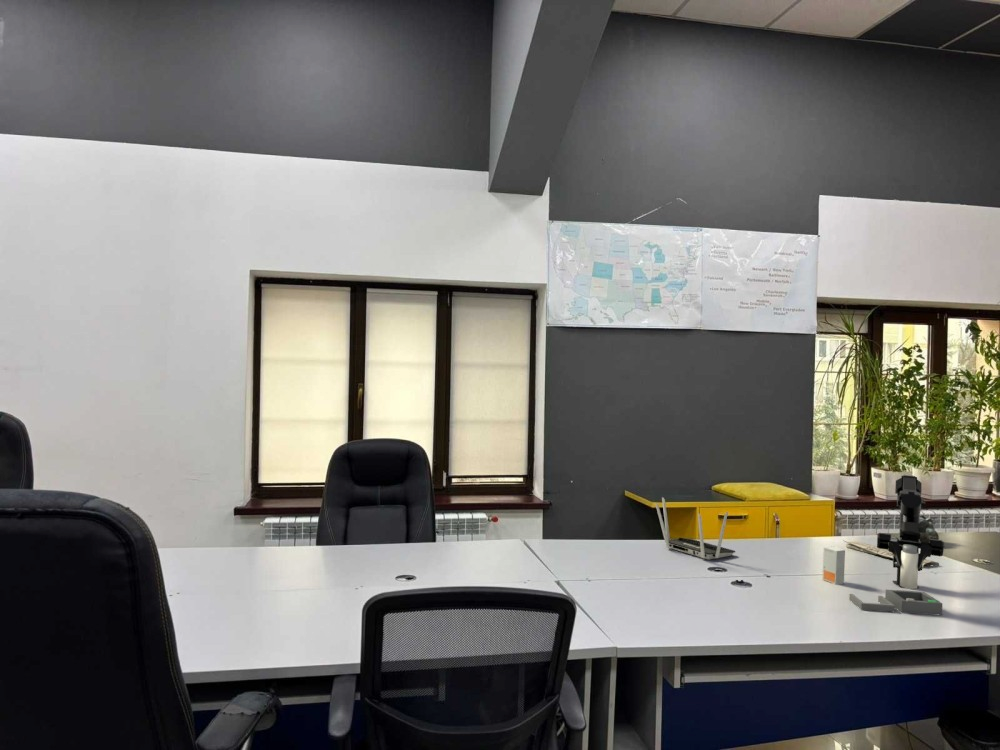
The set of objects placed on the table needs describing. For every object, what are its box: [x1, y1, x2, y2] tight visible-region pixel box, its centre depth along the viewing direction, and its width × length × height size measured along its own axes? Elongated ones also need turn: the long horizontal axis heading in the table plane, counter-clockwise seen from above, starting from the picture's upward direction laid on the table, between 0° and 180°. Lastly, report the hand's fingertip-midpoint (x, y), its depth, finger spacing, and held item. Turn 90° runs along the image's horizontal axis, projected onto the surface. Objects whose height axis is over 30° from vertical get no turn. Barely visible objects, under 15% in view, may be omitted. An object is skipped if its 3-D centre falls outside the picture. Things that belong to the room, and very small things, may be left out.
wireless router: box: [655, 496, 736, 560], centre depth 292 cm, size 34×23×20 cm
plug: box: [900, 544, 919, 590], centre depth 231 cm, size 5×5×13 cm
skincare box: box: [822, 545, 846, 585], centre depth 257 cm, size 6×4×12 cm
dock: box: [884, 589, 943, 616], centre depth 231 cm, size 12×12×4 cm
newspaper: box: [843, 540, 940, 569], centre depth 298 cm, size 35×12×4 cm, turn 27°
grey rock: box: [897, 515, 940, 543], centre depth 325 cm, size 15×12×14 cm
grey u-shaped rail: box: [848, 593, 896, 612], centre depth 231 cm, size 10×10×2 cm
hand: (909, 566), depth 229 cm, fingers closed on plug, 5 cm apart
